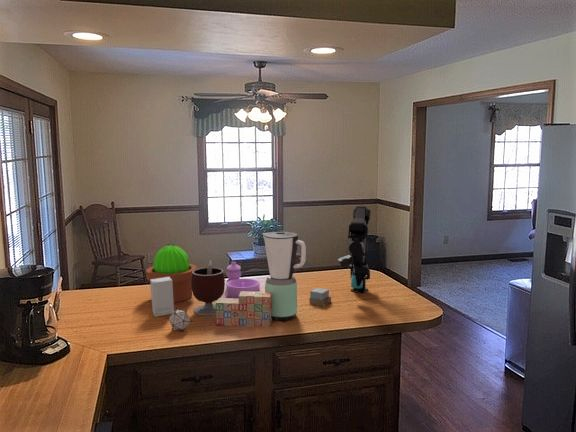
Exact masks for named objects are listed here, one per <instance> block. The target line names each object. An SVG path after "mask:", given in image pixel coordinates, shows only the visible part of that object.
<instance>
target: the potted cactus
mask: <svg viewBox="0 0 576 432" xmlns="http://www.w3.org/2000/svg"><path fill="white" fill-rule="evenodd" d="M189 259H190V258H189V255H188V253H187V251H185V250H184V249H183V248H182V247H180V246H178V245H177V244H166V245H164V246H163V247H161V248H160V249H158V251H157V252H156V254H155V255H154V259H153V262H152V266H151V267H148V268H147V269H146V270H145V274H146V276H145V277H146V280H147V281H150V279H157V278H163V277H170V278H171V279H172V284H173V301H174V303H179V302H184V301H186V300H189V299H191V297H192V296H193V292H192V287H191V279H192V272H193V271H194V270H196V269H198V268H197V265H195V264H192V263H190V261H189Z"/></svg>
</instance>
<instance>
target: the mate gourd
mask: <svg viewBox="0 0 576 432" xmlns="http://www.w3.org/2000/svg"><path fill="white" fill-rule="evenodd" d="M212 262H213V260H212V259H210V260H209V262H208V265H207V267H200V268H197V269H196V270H194V271H193V272H192V279H191V287H192V296H193V297H194V298H195V299H196V301H199V302H202V303H204V304H202V305H198V306H196V307H195V308H193V312H194V314H196V315H199V316H216V304H213V303H214V302H217V300H218V299H219V298H222V297H223V295H224V292H225V288H226V287H225V285H226V282H225V281H226V279H225V274H224V270H223V269H222V268H219V267H213V263H212Z"/></svg>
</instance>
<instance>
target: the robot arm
mask: <svg viewBox="0 0 576 432" xmlns="http://www.w3.org/2000/svg"><path fill="white" fill-rule="evenodd" d="M371 220H372V210H370V209H369V208H367V206H366V205H364V206H363V205H357V206H355V208H354V209H353V211H352V219H351V221H350V224H349V225H348V235H347V236H348V237H347V239H350V240H351V241H350V244H349V246H348V250H349V253H348V254H347V255H344V256H341V257H339V258H338V259H337V261H338V265H339V267H340V268H345V267H348V269H350V276H351V275H354V274H355V276H356V283H357V286H360V284H361V282H362V280H363V287H362V288H352V289H350V292H356V293H361V294H364V293H366V292H367V291H369V288H366V286H367V285H366V284H367V283H366V282H367V281H368V280H370V279H371V270H370V267H369V266H368V262H367V261H366V259H365V258H366V240H367V238H368V235H369V225H370V221H371Z"/></svg>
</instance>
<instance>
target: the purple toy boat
mask: <svg viewBox="0 0 576 432" xmlns="http://www.w3.org/2000/svg"><path fill="white" fill-rule="evenodd" d="M230 263H231V264H229V265H228V266H227V267H226V273H225V274H226V277H227V278H228V279H227V280H226V282H225V285H226V287H225V289H226V298H234V299H239V295H240V292H241V291H245V292H261V291H260V287H261V286H260V284H261V283H260V281H259V280H257V279H254V278H241V276H242V271H241V269H242V268H241V266H240V265H239V264H237V261H231V262H230Z"/></svg>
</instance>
